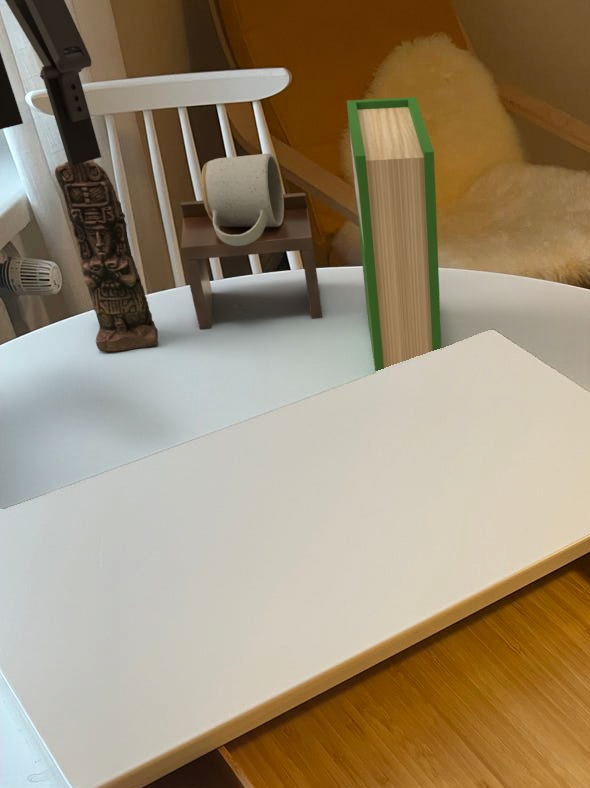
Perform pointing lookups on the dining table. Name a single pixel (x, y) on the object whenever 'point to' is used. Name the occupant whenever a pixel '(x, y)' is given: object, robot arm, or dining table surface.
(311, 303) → the wooden step stool
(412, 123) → the hardback book
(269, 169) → the ceramic mug
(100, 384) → the dining table surface
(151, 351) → the dining table surface
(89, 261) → the statue
